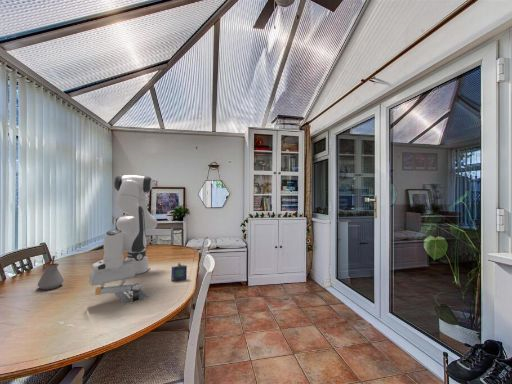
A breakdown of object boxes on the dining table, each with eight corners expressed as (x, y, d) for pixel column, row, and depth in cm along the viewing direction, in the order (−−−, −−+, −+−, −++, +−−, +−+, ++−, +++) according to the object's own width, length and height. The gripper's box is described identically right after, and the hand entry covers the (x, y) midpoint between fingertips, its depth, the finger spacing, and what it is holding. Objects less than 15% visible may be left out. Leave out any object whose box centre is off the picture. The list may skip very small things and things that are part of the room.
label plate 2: (126, 295, 126) (126, 294, 126) (135, 293, 129) (135, 292, 129) (129, 298, 122) (129, 298, 122) (138, 296, 125) (138, 295, 125)
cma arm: (94, 295, 114) (94, 289, 114) (97, 292, 119) (97, 286, 119) (140, 291, 120) (140, 285, 120) (141, 288, 125) (141, 282, 125)
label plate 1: (122, 291, 131) (122, 291, 131) (131, 289, 134) (131, 288, 134) (125, 294, 127) (125, 294, 127) (134, 292, 130) (134, 291, 130)
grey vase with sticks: (62, 288, 137) (63, 261, 138) (35, 292, 131) (36, 265, 131) (65, 277, 155) (65, 254, 155) (41, 281, 148) (41, 256, 148)
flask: (171, 281, 150) (171, 264, 150) (171, 280, 153) (171, 263, 153) (186, 280, 153) (186, 263, 153) (186, 278, 155) (186, 261, 156)
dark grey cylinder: (132, 299, 122) (132, 290, 122) (137, 297, 124) (138, 288, 124) (133, 301, 120) (134, 291, 120) (139, 299, 122) (140, 290, 122)
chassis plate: (114, 294, 129) (114, 293, 129) (137, 289, 137) (137, 287, 137) (124, 306, 116) (124, 304, 116) (149, 299, 124) (149, 297, 124)
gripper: (133, 257, 132) (132, 282, 132) (88, 265, 118) (88, 293, 118) (137, 259, 128) (137, 285, 128) (91, 267, 113) (91, 297, 113)
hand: (113, 289), depth 122 cm, fingers open, 6 cm apart
